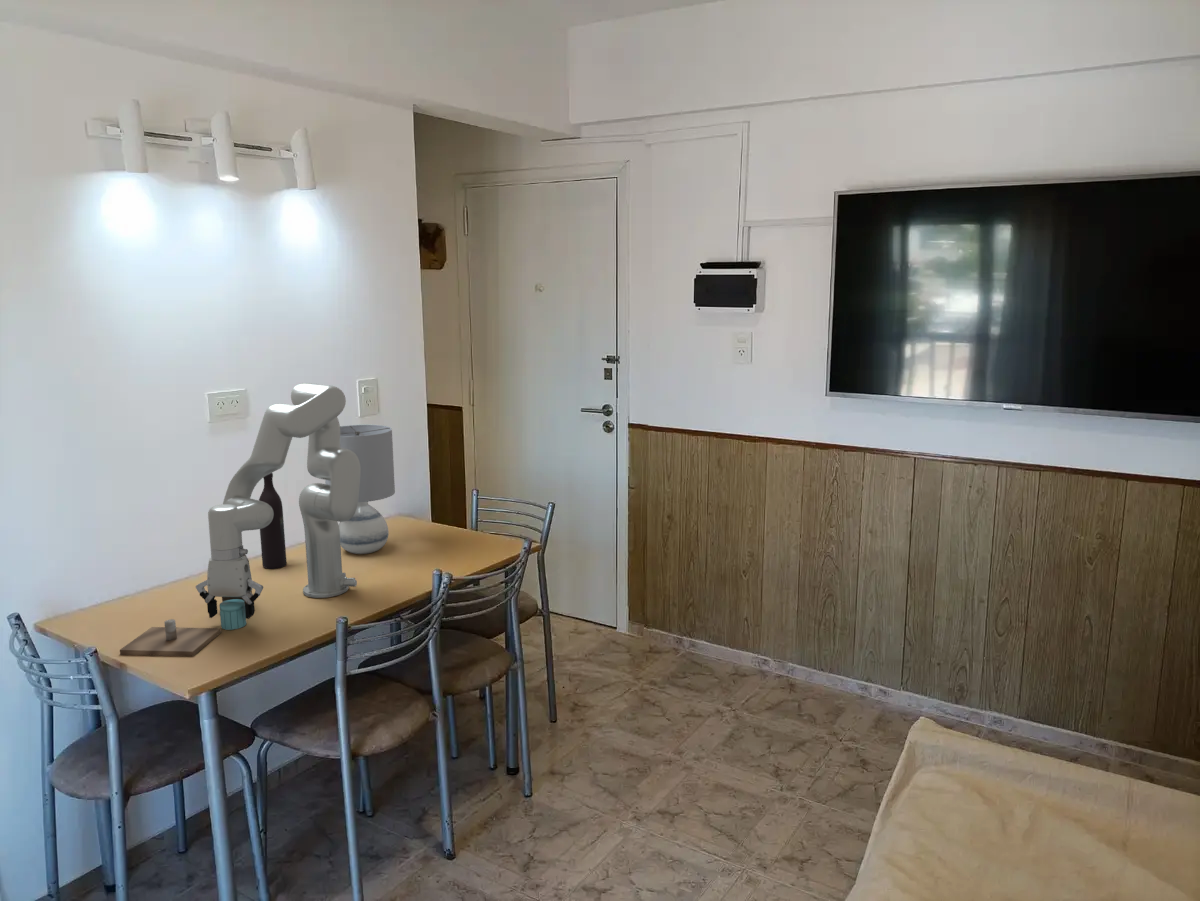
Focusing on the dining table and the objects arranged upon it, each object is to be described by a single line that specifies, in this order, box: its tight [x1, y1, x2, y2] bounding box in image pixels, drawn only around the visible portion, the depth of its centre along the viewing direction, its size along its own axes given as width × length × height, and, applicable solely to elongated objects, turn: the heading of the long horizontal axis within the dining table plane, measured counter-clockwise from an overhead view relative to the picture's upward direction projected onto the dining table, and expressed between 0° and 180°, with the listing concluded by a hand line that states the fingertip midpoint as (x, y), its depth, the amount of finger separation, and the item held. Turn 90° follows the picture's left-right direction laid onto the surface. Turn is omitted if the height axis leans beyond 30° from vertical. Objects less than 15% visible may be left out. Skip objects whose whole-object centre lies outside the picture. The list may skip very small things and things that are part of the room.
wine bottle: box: [258, 472, 287, 570], centre depth 271 cm, size 7×7×30 cm
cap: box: [218, 599, 247, 631], centre depth 227 cm, size 6×6×6 cm
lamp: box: [324, 424, 396, 555], centre depth 286 cm, size 22×22×40 cm
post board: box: [119, 618, 222, 657], centre depth 216 cm, size 18×14×6 cm
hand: (231, 616), depth 227 cm, fingers open, 9 cm apart
